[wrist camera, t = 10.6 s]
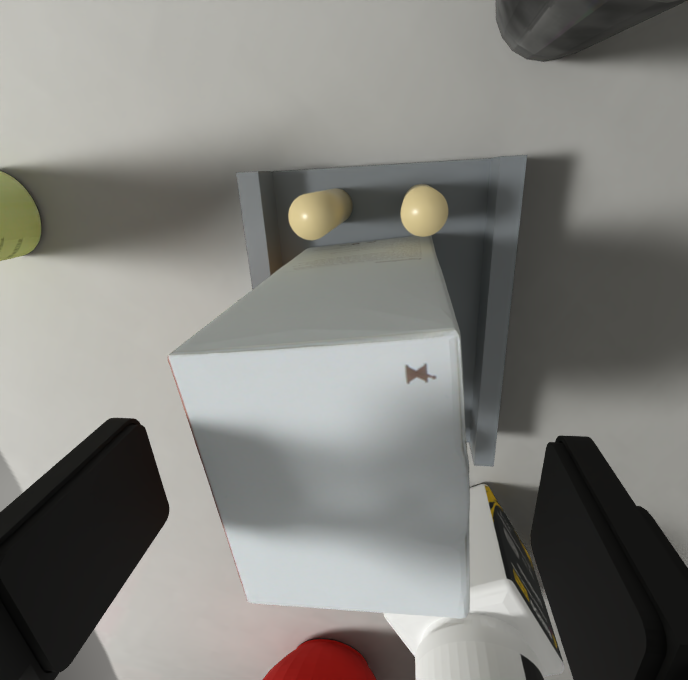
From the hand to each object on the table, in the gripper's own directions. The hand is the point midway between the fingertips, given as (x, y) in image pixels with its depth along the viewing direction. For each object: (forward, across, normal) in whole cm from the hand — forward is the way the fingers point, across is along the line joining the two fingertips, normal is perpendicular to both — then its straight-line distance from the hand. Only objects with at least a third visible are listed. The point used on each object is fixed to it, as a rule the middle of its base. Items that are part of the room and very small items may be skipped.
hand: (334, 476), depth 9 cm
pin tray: (+14, 0, +1) cm, 14 cm away
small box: (+13, 0, +1) cm, 13 cm away
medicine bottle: (+14, -5, +17) cm, 22 cm away
